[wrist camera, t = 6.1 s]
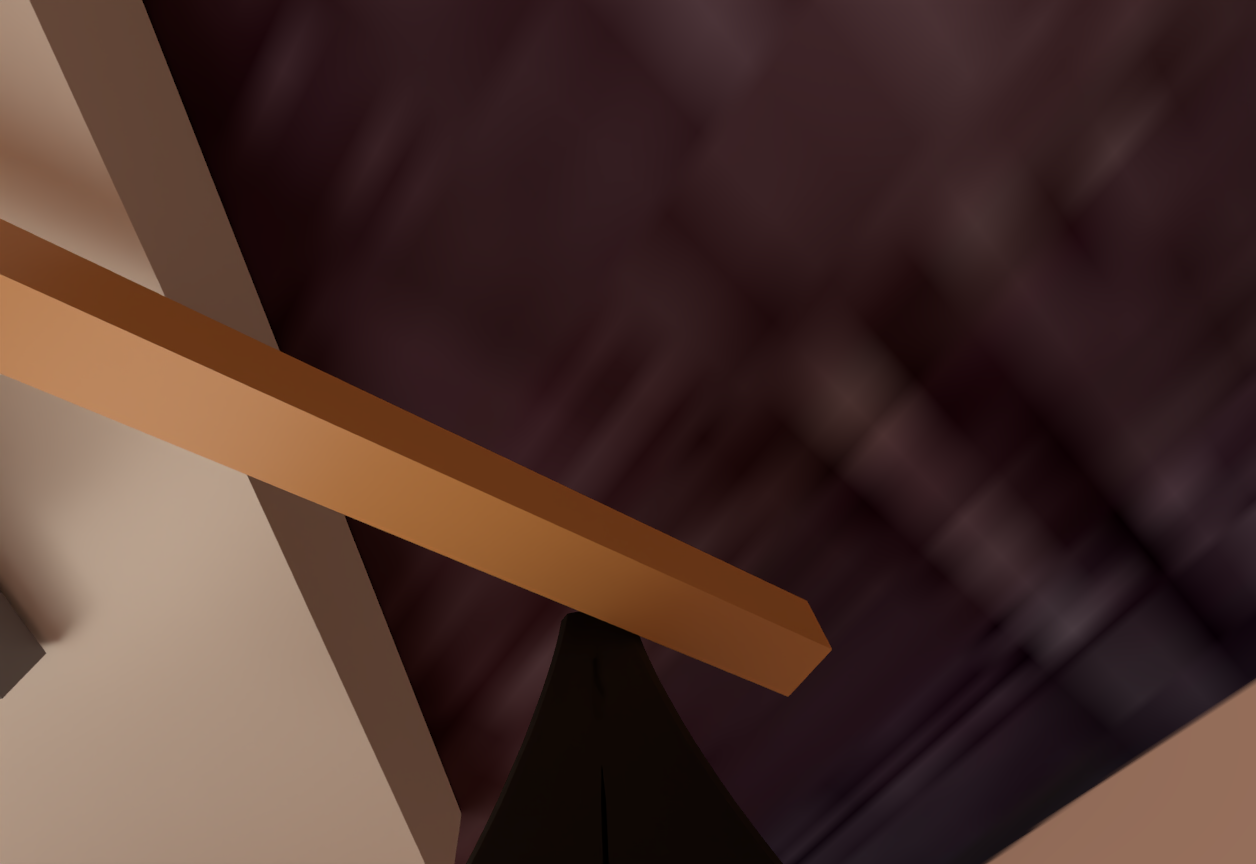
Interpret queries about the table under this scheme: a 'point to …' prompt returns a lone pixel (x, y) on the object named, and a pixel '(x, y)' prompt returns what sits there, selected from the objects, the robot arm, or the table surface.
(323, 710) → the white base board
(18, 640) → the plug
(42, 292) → the orange long bar
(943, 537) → the table surface
